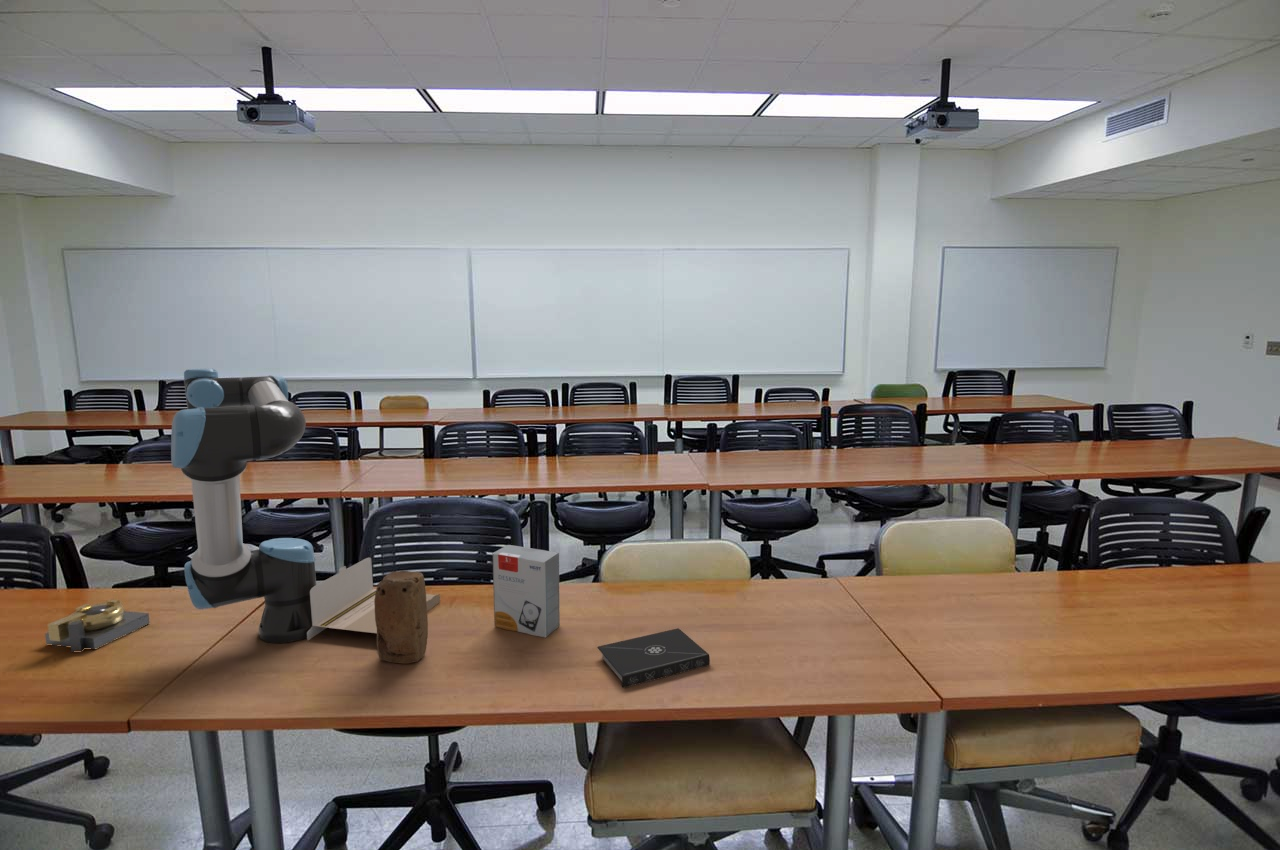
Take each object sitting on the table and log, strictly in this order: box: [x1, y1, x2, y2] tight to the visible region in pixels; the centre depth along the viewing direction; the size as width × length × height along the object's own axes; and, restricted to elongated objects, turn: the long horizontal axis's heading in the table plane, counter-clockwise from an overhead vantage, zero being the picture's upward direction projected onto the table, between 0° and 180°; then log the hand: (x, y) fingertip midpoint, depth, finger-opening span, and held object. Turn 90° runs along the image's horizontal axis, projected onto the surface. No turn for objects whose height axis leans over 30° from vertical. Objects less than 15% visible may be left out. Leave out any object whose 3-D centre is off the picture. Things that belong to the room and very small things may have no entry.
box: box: [306, 557, 441, 642], centre depth 166 cm, size 35×20×14 cm, turn 167°
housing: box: [44, 610, 150, 652], centre depth 157 cm, size 14×16×7 cm
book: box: [596, 627, 711, 688], centre depth 145 cm, size 22×15×3 cm
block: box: [374, 570, 429, 664], centre depth 146 cm, size 11×8×20 cm
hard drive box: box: [492, 544, 561, 638], centre depth 161 cm, size 16×8×20 cm, turn 68°
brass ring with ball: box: [47, 599, 125, 641], centre depth 155 cm, size 15×10×4 cm, turn 169°
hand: (214, 512), depth 172 cm, fingers closed
